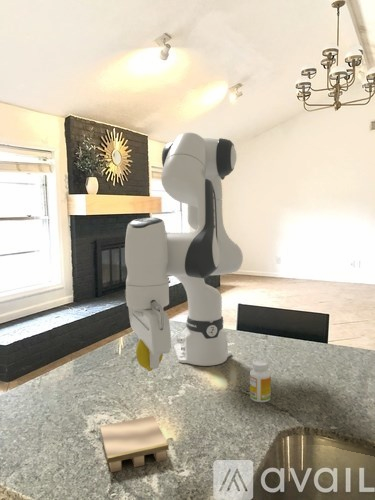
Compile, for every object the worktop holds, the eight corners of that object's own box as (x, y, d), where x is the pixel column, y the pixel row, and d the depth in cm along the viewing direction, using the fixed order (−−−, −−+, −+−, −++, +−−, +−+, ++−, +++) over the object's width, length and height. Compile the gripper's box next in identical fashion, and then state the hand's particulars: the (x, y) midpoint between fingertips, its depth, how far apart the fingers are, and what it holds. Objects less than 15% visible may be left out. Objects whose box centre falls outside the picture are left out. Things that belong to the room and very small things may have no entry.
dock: (100, 438, 86) (99, 425, 86) (153, 428, 90) (153, 415, 90) (108, 473, 75) (107, 458, 74) (168, 459, 79) (168, 444, 78)
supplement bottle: (271, 394, 105) (272, 359, 104) (269, 404, 100) (269, 367, 99) (251, 392, 107) (251, 357, 106) (248, 401, 102) (248, 365, 101)
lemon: (137, 367, 85) (135, 330, 85) (162, 365, 86) (161, 329, 85) (136, 376, 80) (135, 337, 79) (163, 374, 80) (162, 336, 80)
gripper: (178, 305, 73) (180, 377, 74) (150, 287, 92) (151, 345, 93) (145, 308, 71) (147, 382, 72) (123, 289, 90) (125, 348, 91)
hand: (149, 361), depth 83 cm, fingers closed on lemon, 5 cm apart
